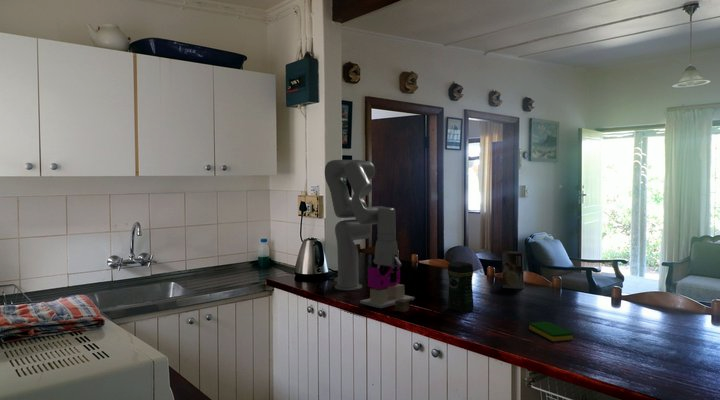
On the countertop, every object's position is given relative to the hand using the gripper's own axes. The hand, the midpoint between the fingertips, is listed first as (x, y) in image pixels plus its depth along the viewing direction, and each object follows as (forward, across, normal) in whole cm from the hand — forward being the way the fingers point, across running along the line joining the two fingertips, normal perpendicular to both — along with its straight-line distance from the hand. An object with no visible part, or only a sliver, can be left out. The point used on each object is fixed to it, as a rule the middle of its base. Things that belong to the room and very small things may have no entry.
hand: (387, 280), depth 214 cm
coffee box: (+9, +22, +59) cm, 64 cm away
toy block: (+2, 0, 0) cm, 2 cm away
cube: (+9, +14, -6) cm, 18 cm away
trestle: (+9, 0, 0) cm, 9 cm away
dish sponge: (+9, +68, +7) cm, 69 cm away
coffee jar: (+9, +29, +11) cm, 32 cm away
